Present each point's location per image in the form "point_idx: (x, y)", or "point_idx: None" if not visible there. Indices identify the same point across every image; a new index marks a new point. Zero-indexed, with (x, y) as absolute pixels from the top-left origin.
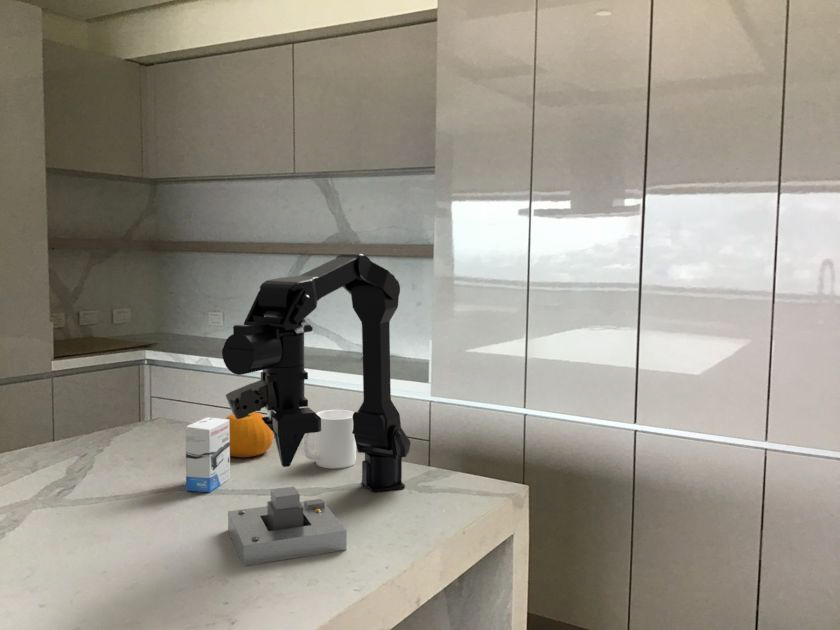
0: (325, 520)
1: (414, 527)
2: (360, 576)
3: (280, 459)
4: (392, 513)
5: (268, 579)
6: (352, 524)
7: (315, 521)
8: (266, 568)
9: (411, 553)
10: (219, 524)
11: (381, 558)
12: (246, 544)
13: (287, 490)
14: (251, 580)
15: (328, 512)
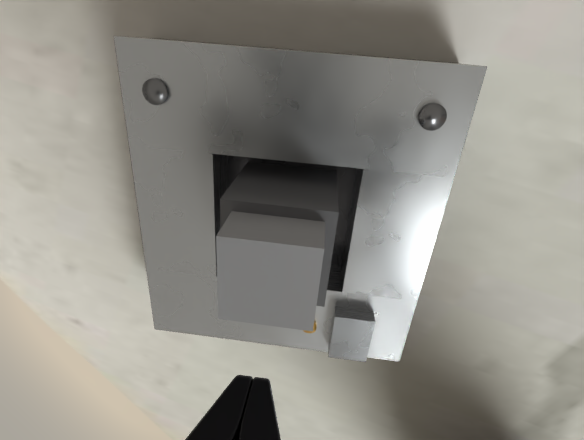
0: None
1: None
2: (43, 269)
3: (256, 407)
4: (325, 430)
5: (54, 83)
6: (307, 356)
7: None
8: (121, 98)
9: (126, 375)
10: (533, 44)
11: (116, 330)
12: (121, 48)
13: (279, 298)
14: (55, 34)
15: (288, 340)
